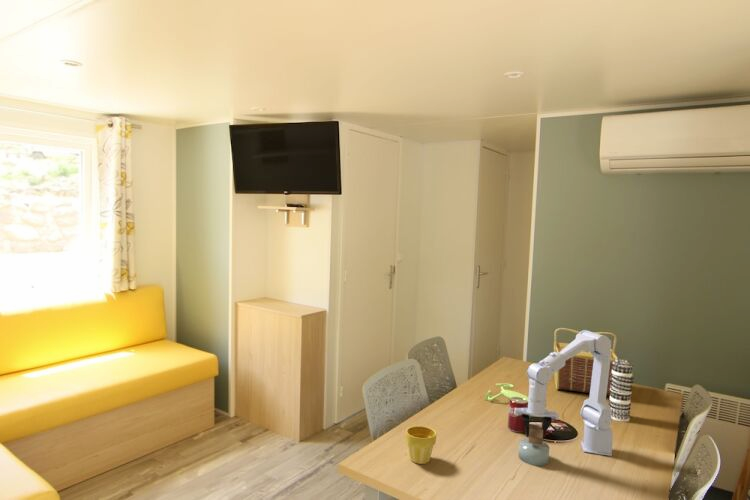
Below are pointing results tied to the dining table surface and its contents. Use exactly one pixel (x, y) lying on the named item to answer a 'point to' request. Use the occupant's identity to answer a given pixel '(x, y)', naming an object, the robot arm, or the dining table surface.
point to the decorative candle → (620, 390)
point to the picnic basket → (579, 367)
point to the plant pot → (420, 443)
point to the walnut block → (535, 434)
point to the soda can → (516, 420)
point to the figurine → (506, 392)
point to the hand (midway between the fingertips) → (534, 436)
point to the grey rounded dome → (534, 453)
